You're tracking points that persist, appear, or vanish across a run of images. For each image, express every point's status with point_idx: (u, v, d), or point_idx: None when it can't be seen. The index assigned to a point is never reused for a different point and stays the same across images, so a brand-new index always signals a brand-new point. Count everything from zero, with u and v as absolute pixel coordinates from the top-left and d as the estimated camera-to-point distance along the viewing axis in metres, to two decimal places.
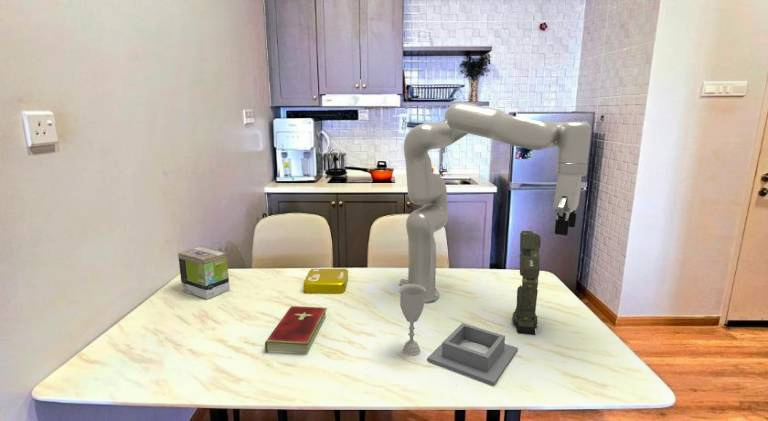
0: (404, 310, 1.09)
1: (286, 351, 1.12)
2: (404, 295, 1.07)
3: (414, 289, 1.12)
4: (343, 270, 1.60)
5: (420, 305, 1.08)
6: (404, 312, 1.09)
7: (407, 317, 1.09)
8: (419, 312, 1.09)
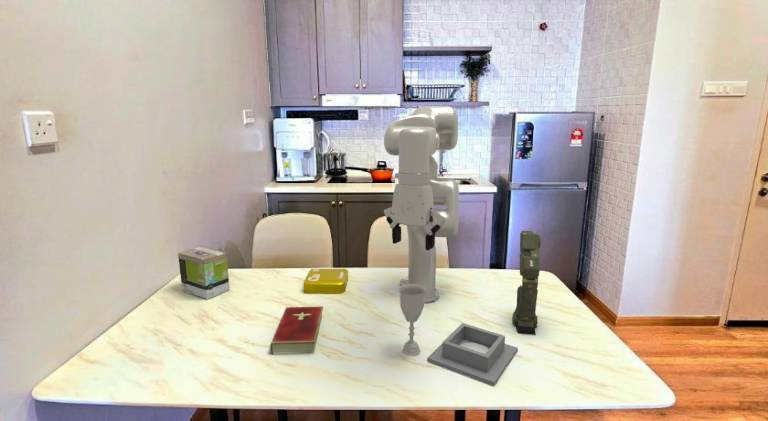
0: (404, 310, 1.09)
1: (292, 351, 1.12)
2: (404, 295, 1.07)
3: (414, 289, 1.12)
4: (343, 270, 1.60)
5: (420, 305, 1.08)
6: (404, 312, 1.09)
7: (407, 317, 1.09)
8: (419, 312, 1.09)
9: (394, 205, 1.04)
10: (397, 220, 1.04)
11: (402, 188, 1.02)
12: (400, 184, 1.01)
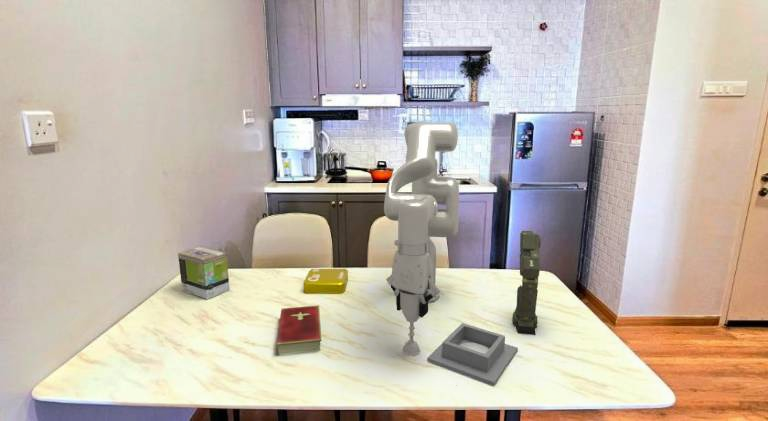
0: (404, 310, 1.09)
1: (298, 351, 1.13)
2: (404, 295, 1.07)
3: None
4: (343, 270, 1.60)
5: None
6: (404, 312, 1.09)
7: (407, 317, 1.09)
8: None
9: (394, 271, 1.08)
10: (397, 286, 1.08)
11: (401, 257, 1.06)
12: (399, 253, 1.05)
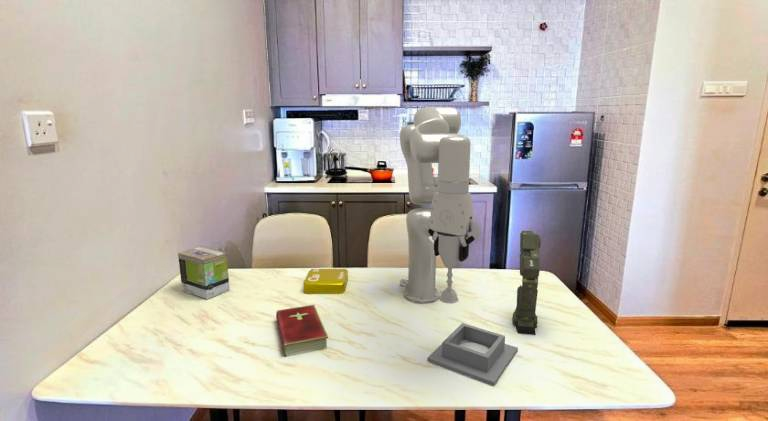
0: (442, 254, 1.04)
1: (305, 350, 1.13)
2: (443, 238, 1.02)
3: None
4: (343, 271, 1.60)
5: (459, 248, 1.03)
6: (443, 256, 1.04)
7: (446, 262, 1.04)
8: (458, 256, 1.03)
9: (432, 213, 1.03)
10: (436, 229, 1.03)
11: (441, 196, 1.01)
12: (439, 192, 1.00)
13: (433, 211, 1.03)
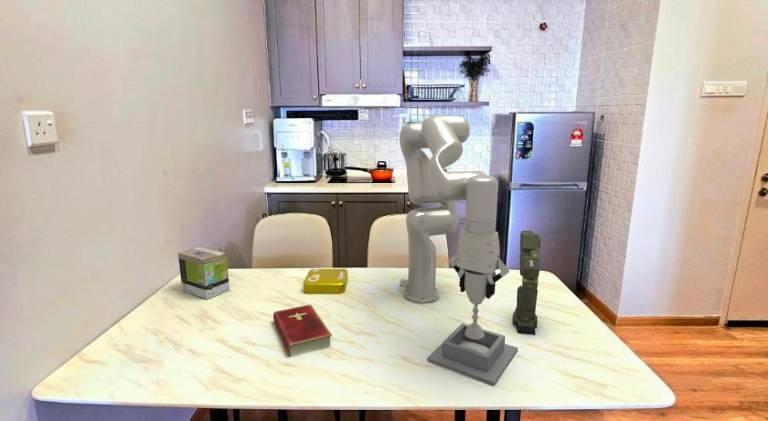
0: (469, 292, 1.05)
1: (310, 349, 1.13)
2: (470, 275, 1.03)
3: None
4: (343, 270, 1.60)
5: (486, 286, 1.04)
6: (469, 293, 1.05)
7: (472, 299, 1.05)
8: (485, 293, 1.04)
9: (459, 251, 1.04)
10: (463, 266, 1.04)
11: (469, 235, 1.02)
12: (467, 231, 1.01)
13: (460, 249, 1.04)
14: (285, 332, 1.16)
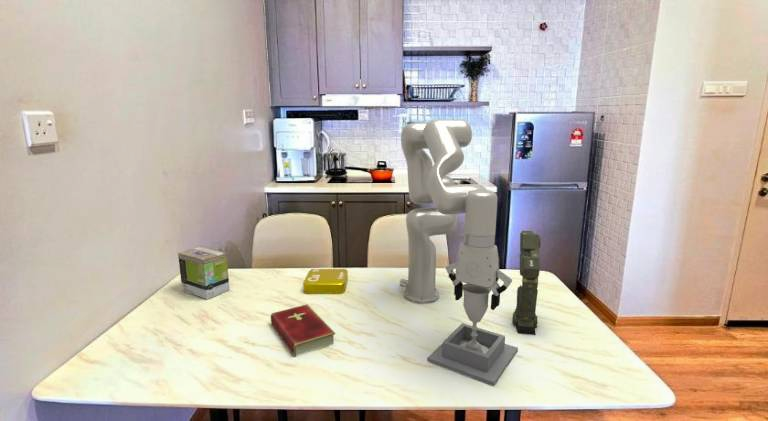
0: (468, 310, 1.06)
1: (314, 348, 1.14)
2: (469, 294, 1.05)
3: (476, 288, 1.10)
4: (343, 271, 1.60)
5: (485, 304, 1.05)
6: (468, 312, 1.06)
7: (471, 317, 1.07)
8: (484, 312, 1.06)
9: (459, 264, 1.05)
10: (462, 279, 1.05)
11: (468, 249, 1.03)
12: (467, 245, 1.02)
13: (459, 262, 1.05)
14: (287, 333, 1.16)
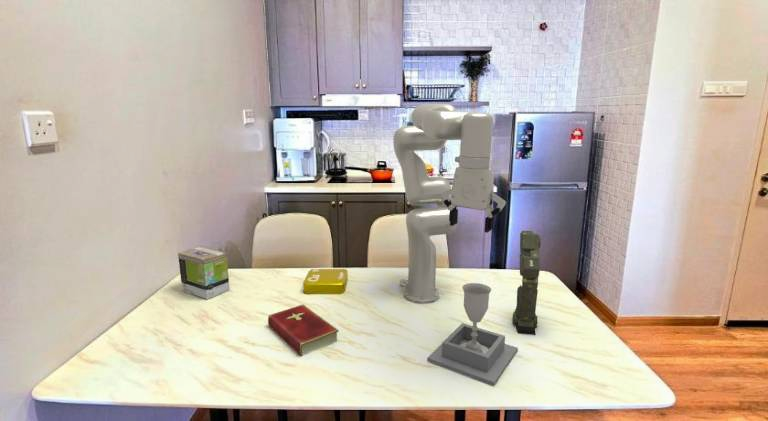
0: (468, 310, 1.06)
1: (319, 346, 1.15)
2: (470, 294, 1.04)
3: (477, 288, 1.09)
4: (343, 271, 1.60)
5: (485, 304, 1.05)
6: (468, 312, 1.06)
7: (471, 317, 1.07)
8: (484, 312, 1.06)
9: (454, 188, 1.07)
10: (457, 203, 1.07)
11: (463, 171, 1.04)
12: (462, 168, 1.03)
13: (454, 186, 1.06)
14: (290, 333, 1.16)
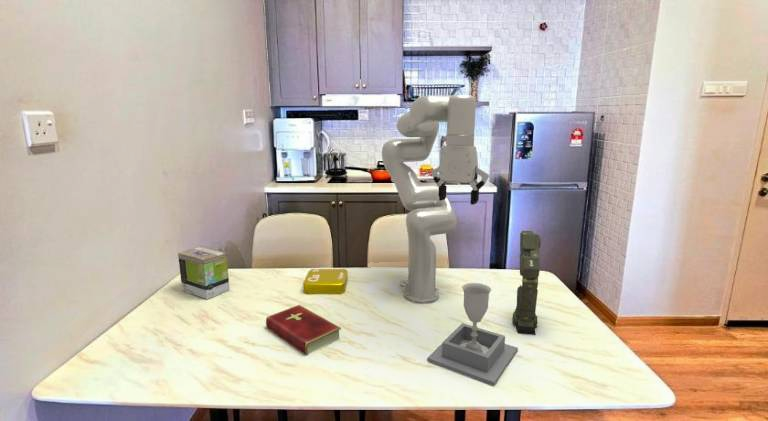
0: (468, 310, 1.06)
1: (323, 345, 1.15)
2: (469, 294, 1.05)
3: (476, 288, 1.09)
4: (343, 271, 1.60)
5: (485, 304, 1.05)
6: (468, 312, 1.06)
7: (471, 317, 1.07)
8: (484, 312, 1.06)
9: (442, 165, 1.17)
10: (445, 178, 1.17)
11: (450, 149, 1.14)
12: (448, 145, 1.14)
13: (442, 163, 1.16)
14: (293, 333, 1.16)
